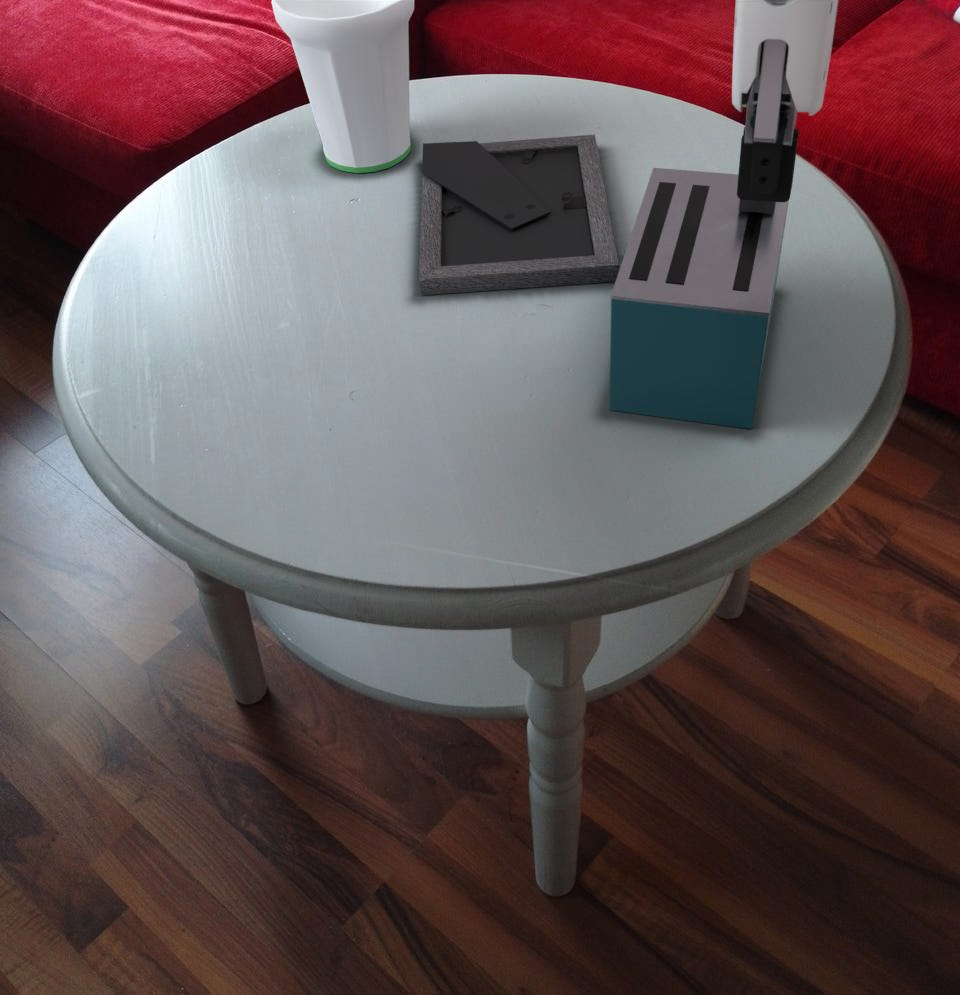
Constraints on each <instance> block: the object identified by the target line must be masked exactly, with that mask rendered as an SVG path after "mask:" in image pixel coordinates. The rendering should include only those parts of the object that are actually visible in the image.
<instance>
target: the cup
mask: <svg viewBox="0 0 960 995" xmlns="http://www.w3.org/2000/svg"><path fill="white" fill-rule="evenodd" d="M271 6H272V11H273V15H274V19H275V22H276V23H277V25H278V26H279V27H280V28H281V29H282V31H283V33H285V34H286V36H287V37H288V38H289V39H290V42H291V45H292V49H293V52H294V56H295V58H296V63H297V64H298V68H299V71H300V74H301V77H302V81H303V84H304V87H305V91H306V95H307V97H308V100H309V104H310V107H311V110H312V111H311V112H312V114H313V117H314V120H315V123H316V127H317V130H318V133H319V136H320V139H321V143H322V148H323V149H322V150H323V155H324V158H325V160H326V162H327V163H328V165H330V166H331V167H333V168H334V169H336V170H340V171H342V172H346V173H351V174H353V173H354V174H366V173H367V174H368V173H375V172H380V171H383V170H386V169H390V168H392V167H394V166H395V165H397V164H400V162H402V161H404V159H405V158H407V156H408V155H409V153H410V152H411V148H412V145H411V136H410V135H411V126H410V125H411V122H410V120H411V118H410V117H411V114H410V113H411V112H410V110H411V109H410V46H409V45H410V43H409V42H410V37H409V32H410V31H409V21H410V20H411V17H412V15H413V13H414V11H415V0H271Z"/></svg>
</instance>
